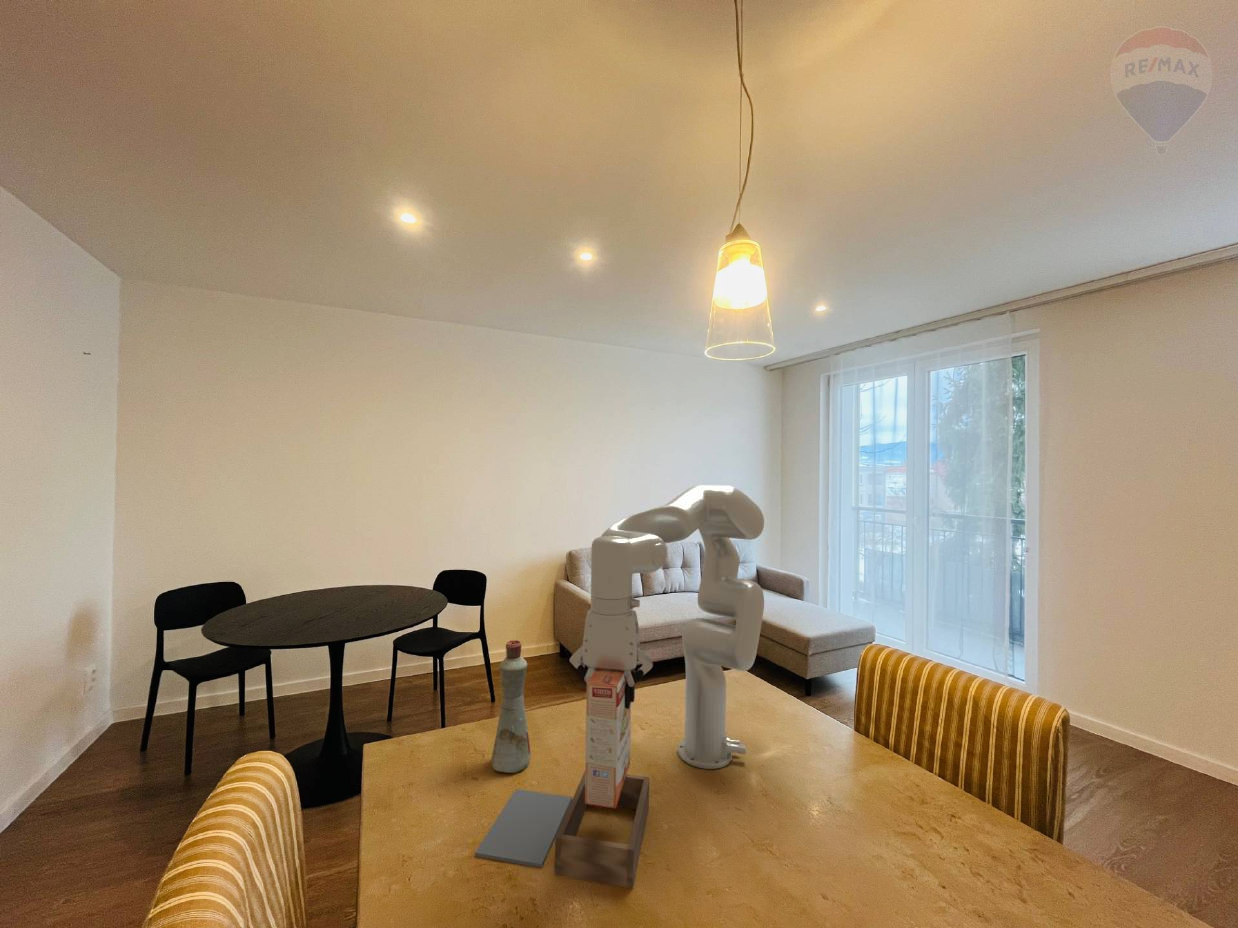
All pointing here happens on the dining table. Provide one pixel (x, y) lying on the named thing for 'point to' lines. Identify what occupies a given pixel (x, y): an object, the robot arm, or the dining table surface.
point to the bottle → (512, 715)
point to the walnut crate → (602, 856)
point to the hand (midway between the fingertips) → (610, 702)
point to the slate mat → (525, 828)
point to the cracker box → (606, 737)
